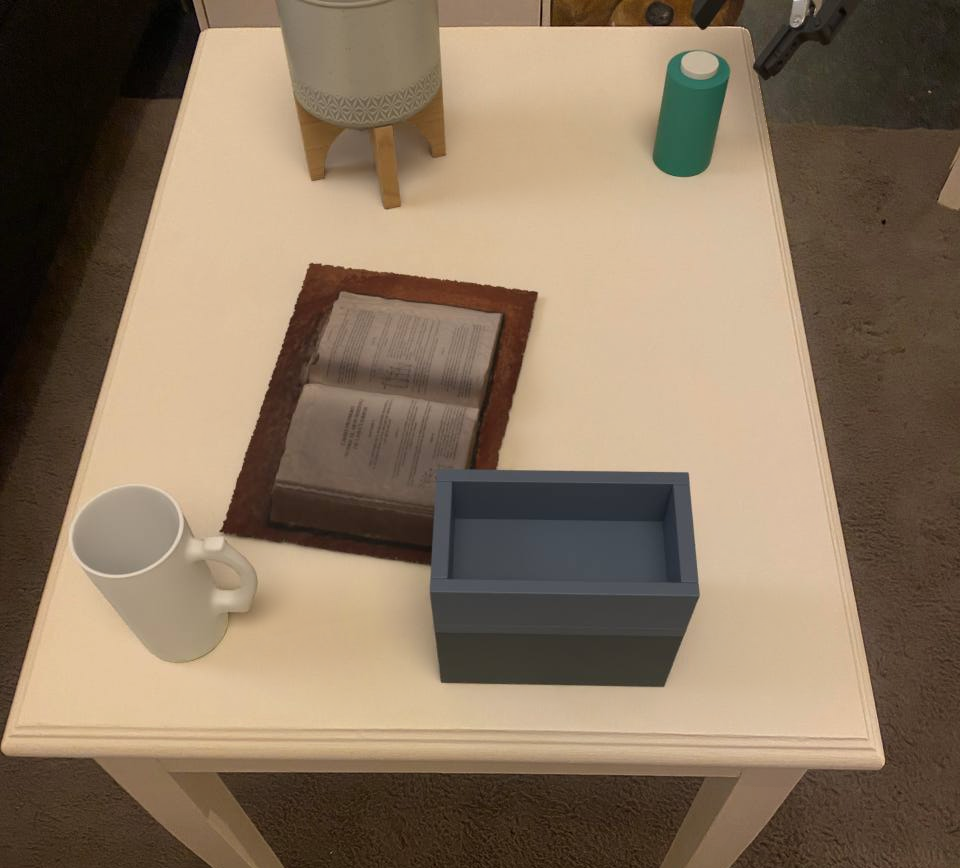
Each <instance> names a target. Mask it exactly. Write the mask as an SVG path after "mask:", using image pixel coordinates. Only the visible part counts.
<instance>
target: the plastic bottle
mask: <svg viewBox="0 0 960 868" xmlns="http://www.w3.org/2000/svg"><path fill="white" fill-rule="evenodd" d="M730 76H731V68H730V64H729V63H728V61H727V60H726V59H725V58H723V57H722V56H721V55H718V53H717V54H716V53H714V52H711V51H708V50H702V49H701V50H700V49H691V50H687V51H682V52H680V53H677V54H675V55H674V56H672V57H671V59H669V61H668V63H667V66H666V72H665V78H664V85H663V91H662V96H661V103H660V108H659V116H658V122H657V126H656V133H655V140H654V146H653V151H652V159H653V162H654V164H655V166H656V167H657V168H658V169H659V170H660V171H662V172H663V173H665V174H668V175H671V176H675V177H683V178H684V177H685V178H686V177H693V176H696V175H699V174H701V173H703V172H704V171H705V170H707V169H708V168H709V166H710V164H711V162H712V156H713V152H714V148H715V143H716V138H717V135H718V130H719V125H720V121H721V116H722V111H723V108H724V102H725V100H726V94H727V90H728V85H729V81H730Z"/></svg>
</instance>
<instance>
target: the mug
mask: <svg viewBox="0 0 960 868" xmlns="http://www.w3.org/2000/svg"><path fill="white" fill-rule="evenodd" d="M67 536H68V537H67V541H68V546H69V551H70V554H71V555H72V557H73V559H74V560H75V562H76V563H77V564H78V565H79V567H80V568H81V570H82V571H83V572H84V573H85V575H86V576H87V577H88V578H89V580H90V581H91V582H92V583H93V585H94V586H95V587H96V588H97V590H98V591H99V592H100V594H101V595H102V596H103V597H104V599H106V601H107V602H108V603H109V605H110V606H111V607H112V609H113V610H114V611H115V612H116V613H117V614H118V616H119V618H121V620H122V621H123V622H124V623H125V625H126V626H127V627H128V628H129V629H130V631H131V632H132V633H133V635H135V637H136V638H137V639H138V640H139V641H140V643H141V644H142V645H143V646H144V647H145V649H146V650H147V652H149V653H150V654H151V655H153V656H154V657H156V658H158V659H159V660H163V661H166V662H170V663H185V662H191V661H194V660H197V659H199V658H201V657H203V656H205V655H207V654H209V653H210V652H211V651H212V650H213V649H215V648H216V647H217V646H218V645H219V644H220V642H221V641H222V639H223V638H224V636H225V634H226V631H227V629H228V626H229V625H228V624H229V613H241V614H242V613H247V612H248V611H249V610H250V609H251V606H252V604H253V601H254V598H255V595H256V593H257V589H258V584H259V579H258V574H257V571H256V569H255V567H254V566H253V564H252V563H251V562H250V561H249V560H248V559H247V558H246V556H244V554H242V553H241V552H240V551H239V550H238V549H236V548H235V547H234V546H233V545H231V544H230V543H229V542H228V541H227V540H226V538H225V536H223V535H218V536H217V535H215V536H206V537H205V539H199V538H196V537H195V535H194V533H193V530H192V528H191V526H190V524H189V522H188V520H187V518H186V516H185V515H184V513H183V510H182V508H181V506H180V504H179V502H178V501H177V500H176V498H175V497H173V495H172V494H171V493H169V492H167V491H166V490H165V489H163V488H160V487H158V486H155V485H152V484H149V483H148V484H147V483H138V482H137V483H133V482H132V483H125V484H119V485H116V486H112V487H110V488H107V489H105V490H102V491H101V492H99V493H97V494H96V495H94V496H93V497H91V498H90V499H89V500H87V502H85V503H84V504H83V505H81V507H80V508H79V510H78V511H77V513H76V514H75V515H74V516H73V519H72V520H71V523H70V526H69V528H68V535H67ZM207 561H214V562H218V563H221V564H223V565H226V566H227V567H229V568H231V569H232V570H233V571H234V572H235V573H236V574H237V575H238V576H239V579H240V583H241V585H240V586H239V587H237V588H236V589H220V588H219V586H218V584H217V581H216V579H215V578H214V575H213V574H212V571H211V569H210V567H209V564H208V563H207Z"/></svg>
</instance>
